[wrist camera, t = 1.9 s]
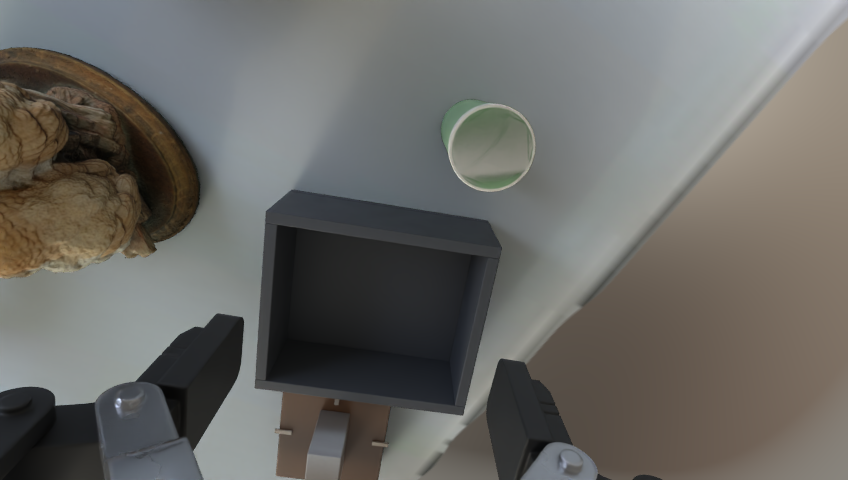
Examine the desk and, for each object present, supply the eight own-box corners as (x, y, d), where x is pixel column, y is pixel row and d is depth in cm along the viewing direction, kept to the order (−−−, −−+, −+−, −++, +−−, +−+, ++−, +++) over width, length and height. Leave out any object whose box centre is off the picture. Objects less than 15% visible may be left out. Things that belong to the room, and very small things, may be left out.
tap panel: (288, 359, 41) (278, 381, 38) (398, 374, 42) (396, 397, 39) (280, 450, 44) (271, 477, 41) (382, 463, 45) (380, 490, 42)
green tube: (445, 93, 34) (457, 96, 24) (506, 103, 35) (545, 112, 24) (434, 155, 36) (441, 184, 25) (493, 165, 36) (524, 198, 26)
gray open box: (291, 189, 36) (265, 211, 30) (488, 220, 37) (502, 247, 31) (279, 341, 41) (254, 388, 34) (456, 366, 42) (463, 415, 35)
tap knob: (320, 409, 39) (306, 456, 34) (350, 413, 39) (340, 460, 34) (314, 461, 41) (300, 513, 36) (343, 464, 41) (332, 517, 36)
